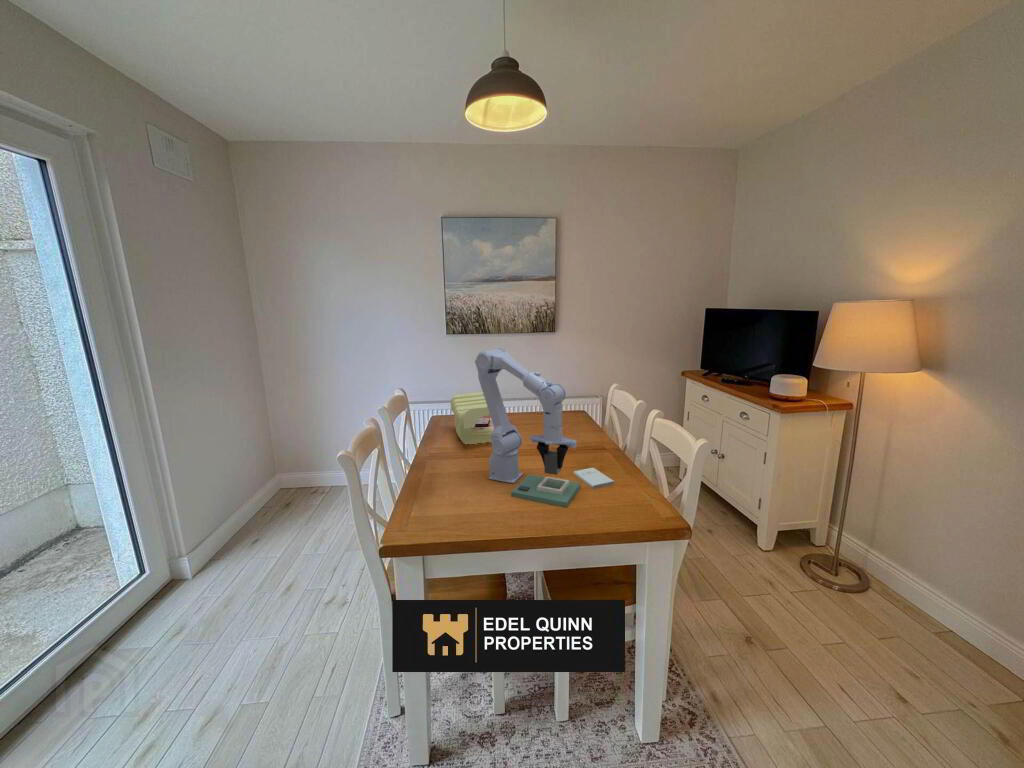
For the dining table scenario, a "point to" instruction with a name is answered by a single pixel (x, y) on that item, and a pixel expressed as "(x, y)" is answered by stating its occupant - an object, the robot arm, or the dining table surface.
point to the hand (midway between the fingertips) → (553, 466)
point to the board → (546, 490)
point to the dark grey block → (551, 462)
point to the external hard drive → (593, 478)
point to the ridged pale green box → (470, 417)
